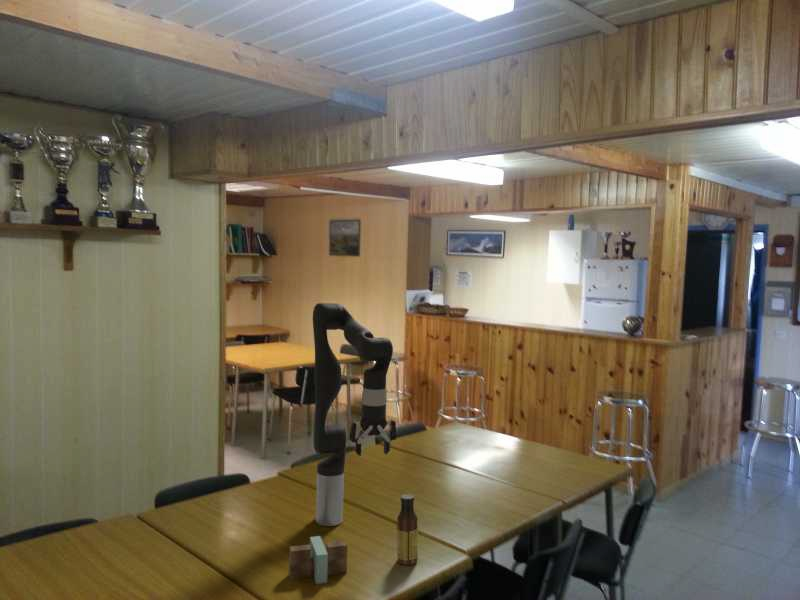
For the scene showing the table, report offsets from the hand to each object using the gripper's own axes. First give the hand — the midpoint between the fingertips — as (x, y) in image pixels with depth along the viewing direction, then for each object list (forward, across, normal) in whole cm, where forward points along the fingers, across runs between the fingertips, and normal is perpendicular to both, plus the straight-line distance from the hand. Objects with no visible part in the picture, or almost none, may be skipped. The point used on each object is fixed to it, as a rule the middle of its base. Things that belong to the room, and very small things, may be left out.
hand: (372, 454), depth 187 cm
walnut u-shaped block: (+30, +18, +11) cm, 37 cm away
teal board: (+30, +18, +11) cm, 37 cm away
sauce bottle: (+30, -9, +10) cm, 33 cm away
